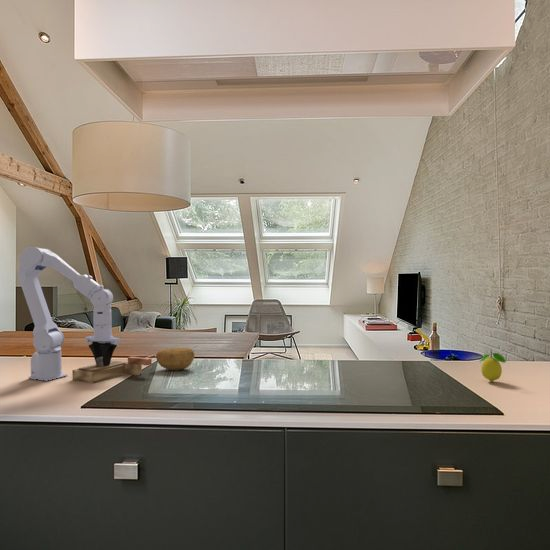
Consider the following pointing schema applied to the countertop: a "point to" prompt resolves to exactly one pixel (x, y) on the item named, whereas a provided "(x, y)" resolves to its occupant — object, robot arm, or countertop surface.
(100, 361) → the lid
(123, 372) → the toolbox
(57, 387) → the countertop surface
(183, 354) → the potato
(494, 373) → the lemon
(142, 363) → the wooden bar
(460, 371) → the countertop surface
